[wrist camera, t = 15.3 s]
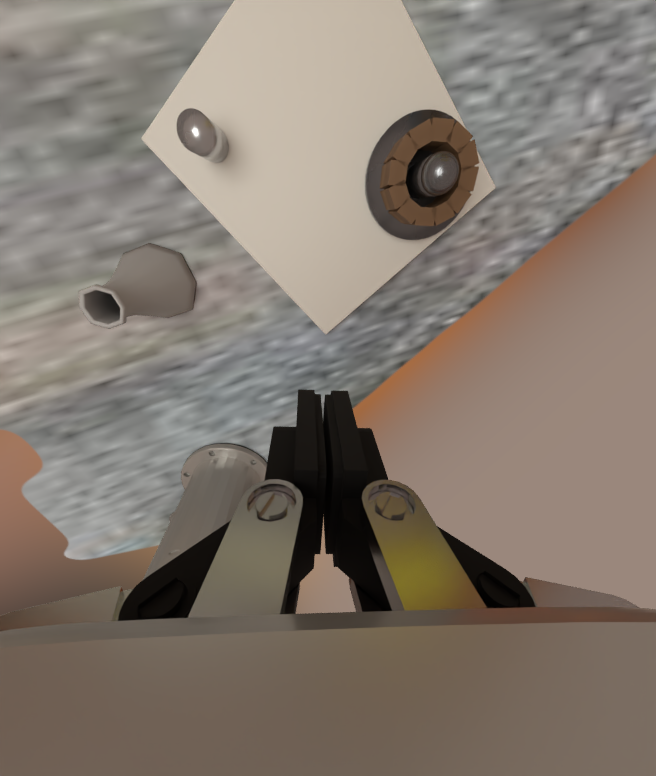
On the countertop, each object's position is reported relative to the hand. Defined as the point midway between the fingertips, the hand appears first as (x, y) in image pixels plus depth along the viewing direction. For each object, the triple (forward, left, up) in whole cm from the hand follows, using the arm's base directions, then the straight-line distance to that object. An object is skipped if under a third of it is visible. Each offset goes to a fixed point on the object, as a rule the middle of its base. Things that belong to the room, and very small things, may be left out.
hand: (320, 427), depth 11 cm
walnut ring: (+12, +1, -22) cm, 25 cm away
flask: (-11, +11, -25) cm, 29 cm away
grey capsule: (+2, +14, -23) cm, 27 cm away
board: (+8, +7, -24) cm, 26 cm away
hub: (+13, +1, -23) cm, 26 cm away
